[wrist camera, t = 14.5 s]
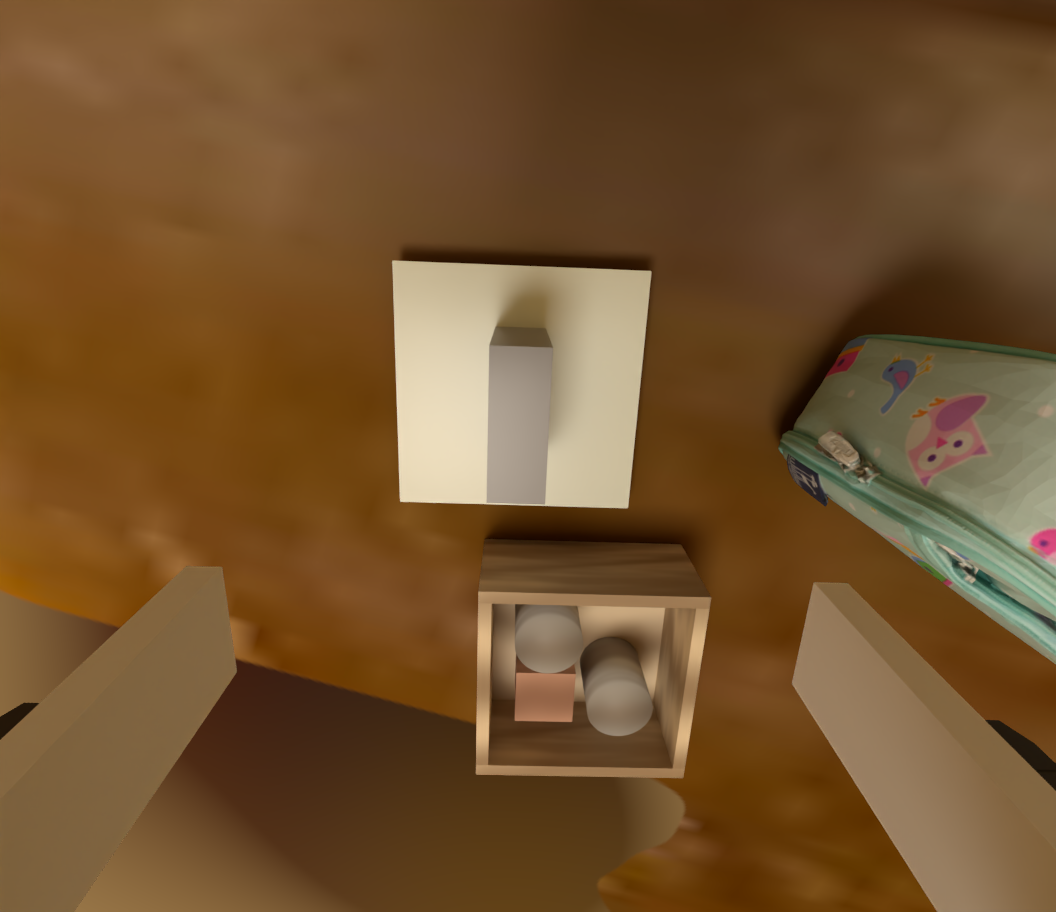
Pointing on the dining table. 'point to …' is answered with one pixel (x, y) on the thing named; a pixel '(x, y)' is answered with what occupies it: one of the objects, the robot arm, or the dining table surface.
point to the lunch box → (945, 465)
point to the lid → (517, 382)
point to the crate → (587, 658)
